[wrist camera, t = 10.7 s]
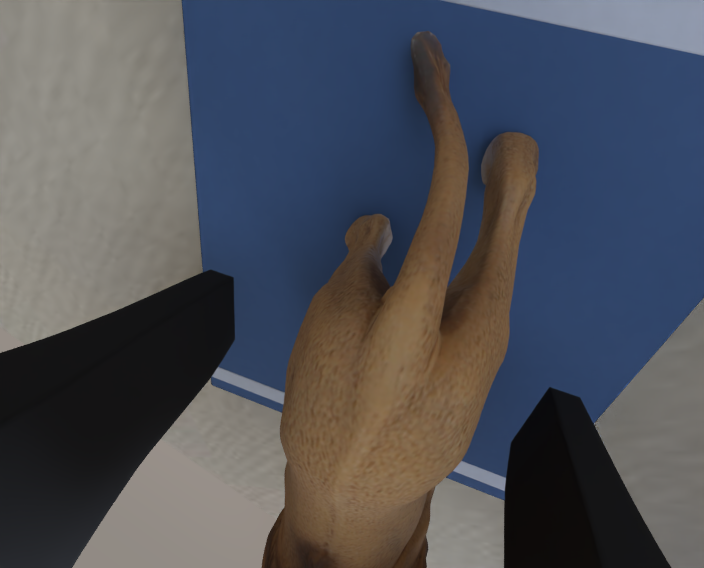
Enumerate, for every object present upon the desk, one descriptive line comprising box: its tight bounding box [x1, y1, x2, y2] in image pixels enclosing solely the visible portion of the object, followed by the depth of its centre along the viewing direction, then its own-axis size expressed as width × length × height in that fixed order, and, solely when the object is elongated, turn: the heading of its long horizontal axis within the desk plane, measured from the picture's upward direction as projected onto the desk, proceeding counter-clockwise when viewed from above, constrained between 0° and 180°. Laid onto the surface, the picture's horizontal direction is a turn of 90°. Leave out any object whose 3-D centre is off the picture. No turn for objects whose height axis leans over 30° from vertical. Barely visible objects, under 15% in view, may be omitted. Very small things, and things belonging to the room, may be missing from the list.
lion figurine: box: [262, 31, 539, 568], centre depth 9 cm, size 15×5×9 cm, turn 5°
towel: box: [182, 0, 704, 501], centre depth 12 cm, size 16×13×1 cm
